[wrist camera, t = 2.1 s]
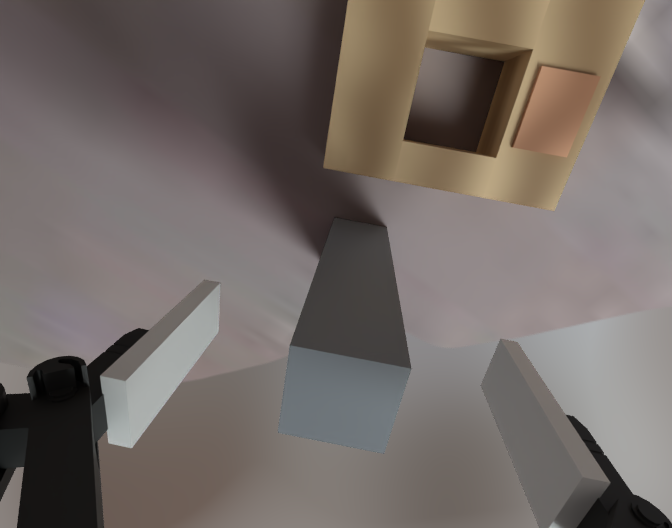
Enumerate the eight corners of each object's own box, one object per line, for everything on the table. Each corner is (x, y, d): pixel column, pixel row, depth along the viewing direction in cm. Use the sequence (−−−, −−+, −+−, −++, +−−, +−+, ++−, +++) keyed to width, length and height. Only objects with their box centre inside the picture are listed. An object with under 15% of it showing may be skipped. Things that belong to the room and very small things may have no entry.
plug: (326, 265, 27) (277, 432, 13) (334, 217, 26) (290, 345, 11) (375, 274, 27) (383, 453, 13) (386, 227, 26) (411, 368, 11)
